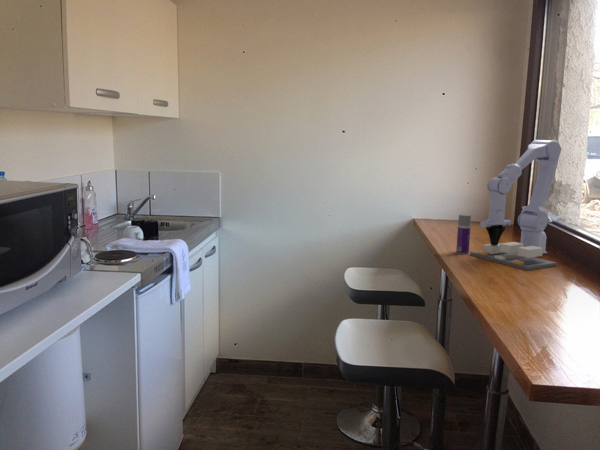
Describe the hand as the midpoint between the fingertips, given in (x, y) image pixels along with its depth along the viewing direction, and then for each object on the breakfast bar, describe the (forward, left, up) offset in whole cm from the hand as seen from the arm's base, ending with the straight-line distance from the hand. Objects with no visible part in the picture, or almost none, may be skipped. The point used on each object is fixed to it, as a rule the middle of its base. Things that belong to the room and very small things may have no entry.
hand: (494, 245), depth 202 cm
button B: (0, +8, -1) cm, 8 cm away
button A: (0, 0, -3) cm, 3 cm away
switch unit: (-1, +8, -4) cm, 9 cm away
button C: (0, +16, -1) cm, 16 cm away
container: (+7, -9, -4) cm, 12 cm away
